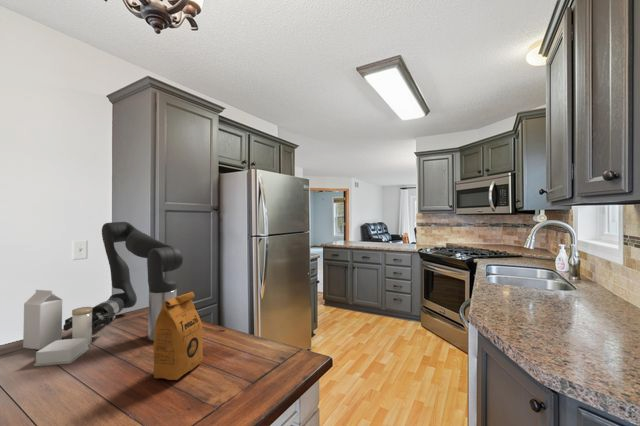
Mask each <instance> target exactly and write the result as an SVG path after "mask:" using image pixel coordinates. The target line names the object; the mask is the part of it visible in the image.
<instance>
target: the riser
mask: <svg viewBox="0 0 640 426" xmlns="http://www.w3.org/2000/svg"><path fill="white" fill-rule="evenodd" d="M88 346H89V345H88V338H78V339H72V338H68V339H67V338H66V339H62V340H56V341H54V342H52V343H51V344H49V345H47V346H46V347H44V348H42V349H38V351H36V352H35V363H34V364H33V367H42V366H53V365H55V366H56V365H64V364H66V365H67V364H72V363H73V362H74V361H76V360H77V359H78V358H80V357H81V356H82V355H83V354H85V353H86V352H87V351H90V348H89V347H88Z"/></svg>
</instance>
